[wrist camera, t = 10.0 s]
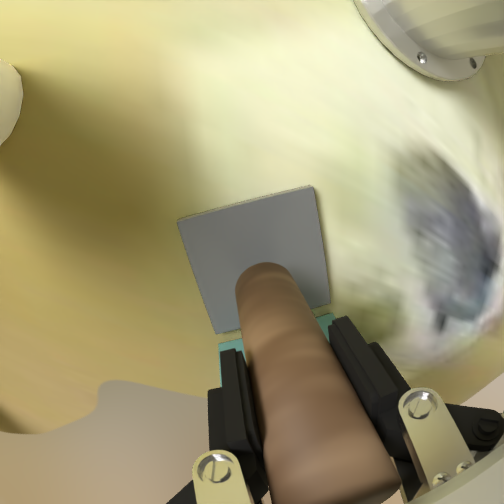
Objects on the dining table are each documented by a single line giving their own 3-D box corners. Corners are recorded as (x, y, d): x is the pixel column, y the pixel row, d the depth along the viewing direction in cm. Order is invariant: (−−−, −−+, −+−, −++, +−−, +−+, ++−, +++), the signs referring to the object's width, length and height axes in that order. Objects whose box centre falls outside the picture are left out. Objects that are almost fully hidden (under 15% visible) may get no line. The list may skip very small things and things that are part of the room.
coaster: (309, 185, 18) (313, 186, 17) (327, 298, 21) (330, 303, 20) (177, 219, 17) (176, 222, 17) (215, 329, 20) (216, 334, 20)
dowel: (288, 255, 16) (412, 460, 4) (298, 306, 17) (392, 502, 6) (228, 271, 16) (264, 510, 4) (243, 321, 17) (286, 536, 6)
